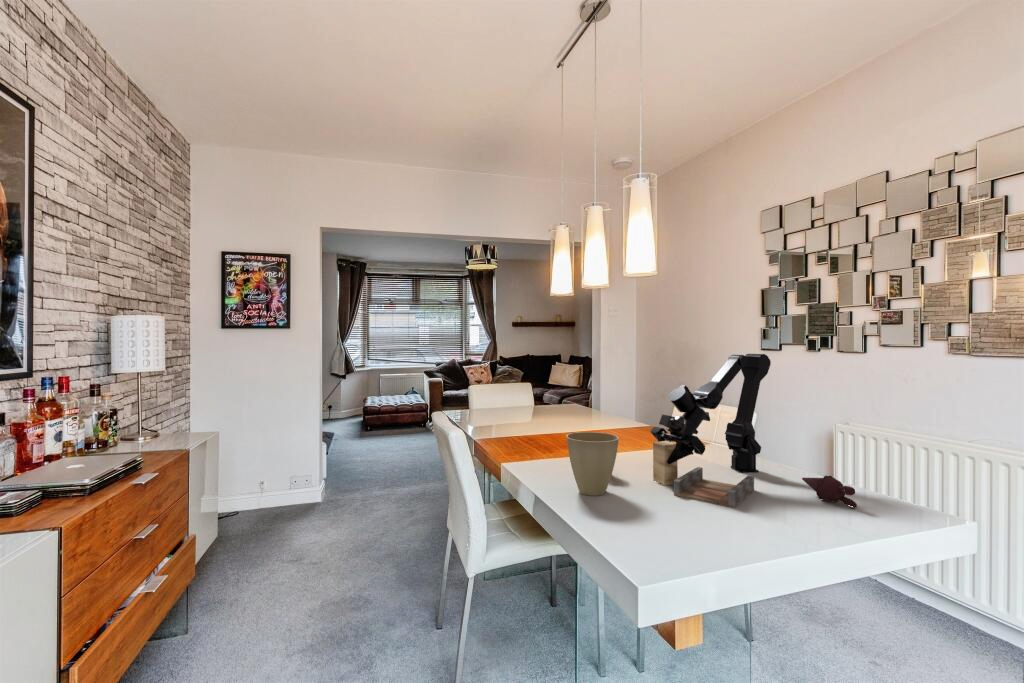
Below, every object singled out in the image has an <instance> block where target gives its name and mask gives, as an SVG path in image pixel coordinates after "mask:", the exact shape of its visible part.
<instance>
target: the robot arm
mask: <svg viewBox="0 0 1024 683" xmlns="http://www.w3.org/2000/svg"><path fill="white" fill-rule="evenodd" d="M770 367H771V359H770V357H769V356H768V354H765V353H746V354H745V355H744V354H732V355H730V356H728V358H727V360H726V362H724V364H723V366H722V367H721V368H720V369H719V370H718V372H716V373H715V375H714V376H713V377H712V379H710V381H709V382H708V383H704V384H703V385H701V386H700V387H699V388H697V389H696V390H695V391H694V392H693V393H692V392H691V391H690V389H689V386H687V385H684V384H680V386H679V387H676V388H675V389H673V390H672V391H670V392H669V394H668V396H667V399H668V400H669V401H670V402H671V403H672V404H673V407H675V408H676V409H677V411H678V412H679V413H683V414H682V415H676V416H672V415H668V414H661V417H660V419H659V422H658V425H660V426H663V427H660V426H653V427H652V428H651V430H650V431H649V432H650V433H651V435H652V436H653V437H654V438H655V439H656V440H657V442H659V441H669V442H672V443H676V447H675V449H674V450H673V452H672V454H671V455H670V457H669V458H668V460H667V463H668V464H671V463H673V462H675V461H677V462H678V461H679V460H681V459H683V458H687V457H688V456H691V455H694V454H697V455H701V456H703V454H704V453H705V451H706V445H705V444H704V443H703V441H702V440H701V439H700V438H699V436H697V435H698V434H699V431H698V430H697V429H698V428H699V427H700V425H701V424H702V423H703V421H707V422H710V421H711V417H710V413H709V412H708V411H705V409H706V410H707V409H708V410H716V409H717V408H718V407H719V405H720V403H721V402H722V400H723V396H724V394H723V393H724V391H725V389H727V387H728V386H729V385H730V384H731V382H732V381H733V380H734V379H735V377H736V376H737V375H738V374H739V373H740V371H741V373H742V375H743V382H742V387H741V392H740V395H739V396H740V397H739V400H738V404H737V405H738V406H737V410H736V415H735V419H734V420H733V421H732V422H727V424H726V430H725V432H724V435H725V441H726V442H727V443H726V444H727V447H728V449H729V450H732V454H731V465H730V468H731V469H733V470H735V471H737V472H738V471H739V473H759V472H760V470H758V469H757V455H759V454H761V450H762V446H761V445H760V444H759V442H758V441H757V440H756V439H755V438H756V430H755V427H754V425H753V419H754V414H755V410H756V409H755V408H756V405H757V401H758V396H759V390H760V386H761V382H762V380H763V379H764V378H766V376H767V375H768V373H769V370H770ZM664 427H665V428H666V429H665V428H664ZM668 432H669V433H668Z"/></svg>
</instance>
